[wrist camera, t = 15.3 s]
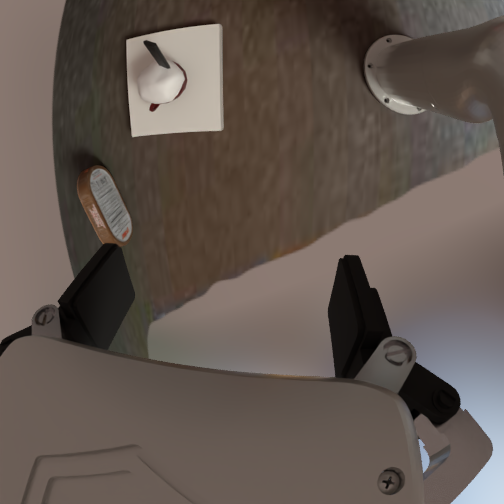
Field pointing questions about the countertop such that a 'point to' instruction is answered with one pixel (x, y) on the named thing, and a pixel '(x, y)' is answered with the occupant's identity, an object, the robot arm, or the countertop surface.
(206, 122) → the cutting board
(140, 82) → the cocoa
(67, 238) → the countertop surface
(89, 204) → the tin
